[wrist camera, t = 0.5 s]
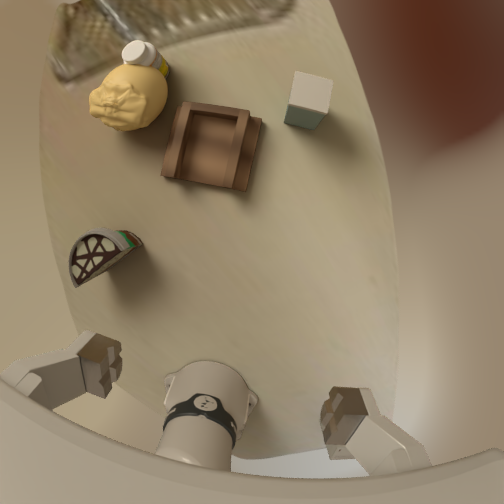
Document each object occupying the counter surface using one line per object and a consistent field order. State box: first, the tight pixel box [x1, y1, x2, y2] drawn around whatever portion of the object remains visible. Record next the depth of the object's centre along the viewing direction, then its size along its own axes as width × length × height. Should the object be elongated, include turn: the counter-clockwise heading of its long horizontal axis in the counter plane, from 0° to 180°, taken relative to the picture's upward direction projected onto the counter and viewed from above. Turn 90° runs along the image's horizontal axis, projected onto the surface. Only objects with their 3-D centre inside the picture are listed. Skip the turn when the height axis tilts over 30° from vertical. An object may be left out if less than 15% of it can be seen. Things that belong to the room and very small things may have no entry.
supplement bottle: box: [122, 40, 169, 79], centre depth 37 cm, size 6×6×10 cm
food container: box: [69, 228, 143, 288], centre depth 43 cm, size 12×6×10 cm, turn 122°
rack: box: [161, 101, 262, 192], centre depth 42 cm, size 12×14×4 cm
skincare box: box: [320, 419, 355, 460], centre depth 47 cm, size 6×4×12 cm
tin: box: [284, 71, 333, 130], centre depth 38 cm, size 5×5×10 cm
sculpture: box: [89, 63, 168, 131], centre depth 38 cm, size 12×12×11 cm
